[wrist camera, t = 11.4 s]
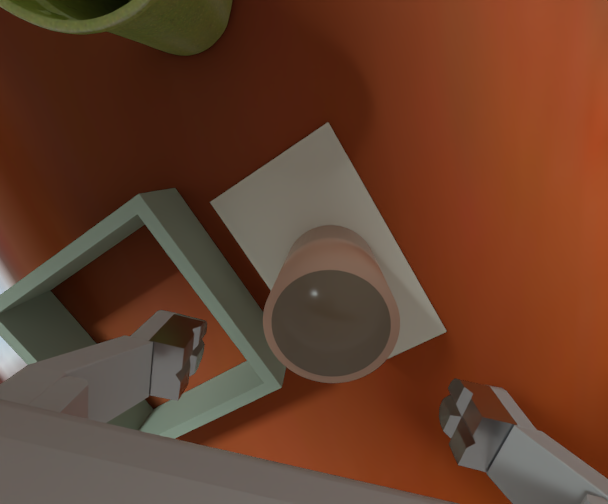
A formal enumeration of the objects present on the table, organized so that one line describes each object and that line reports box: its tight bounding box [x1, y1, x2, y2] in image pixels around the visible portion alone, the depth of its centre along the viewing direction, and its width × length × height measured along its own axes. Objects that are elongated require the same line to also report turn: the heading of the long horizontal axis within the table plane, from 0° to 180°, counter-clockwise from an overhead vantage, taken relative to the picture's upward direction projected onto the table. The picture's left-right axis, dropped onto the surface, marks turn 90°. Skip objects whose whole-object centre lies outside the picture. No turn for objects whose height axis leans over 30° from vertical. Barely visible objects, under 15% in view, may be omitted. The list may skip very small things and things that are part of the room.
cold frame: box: [0, 188, 286, 439], centre depth 21 cm, size 14×14×4 cm
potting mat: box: [210, 122, 447, 359], centre depth 21 cm, size 16×9×1 cm, turn 32°
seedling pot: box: [263, 225, 400, 383], centre depth 17 cm, size 6×6×8 cm
